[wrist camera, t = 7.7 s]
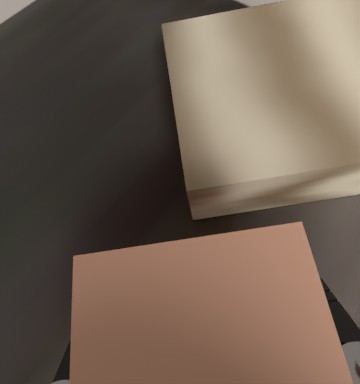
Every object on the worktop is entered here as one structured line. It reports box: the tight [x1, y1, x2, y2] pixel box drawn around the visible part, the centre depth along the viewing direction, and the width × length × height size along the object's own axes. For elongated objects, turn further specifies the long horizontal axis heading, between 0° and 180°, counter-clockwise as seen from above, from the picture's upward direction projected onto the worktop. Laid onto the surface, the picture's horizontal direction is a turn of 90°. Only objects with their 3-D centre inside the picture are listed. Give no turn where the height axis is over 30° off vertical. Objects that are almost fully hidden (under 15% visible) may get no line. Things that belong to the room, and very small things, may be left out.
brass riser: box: [161, 0, 360, 220], centre depth 16 cm, size 12×11×4 cm
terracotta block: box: [69, 222, 353, 384], centre depth 9 cm, size 5×5×9 cm
